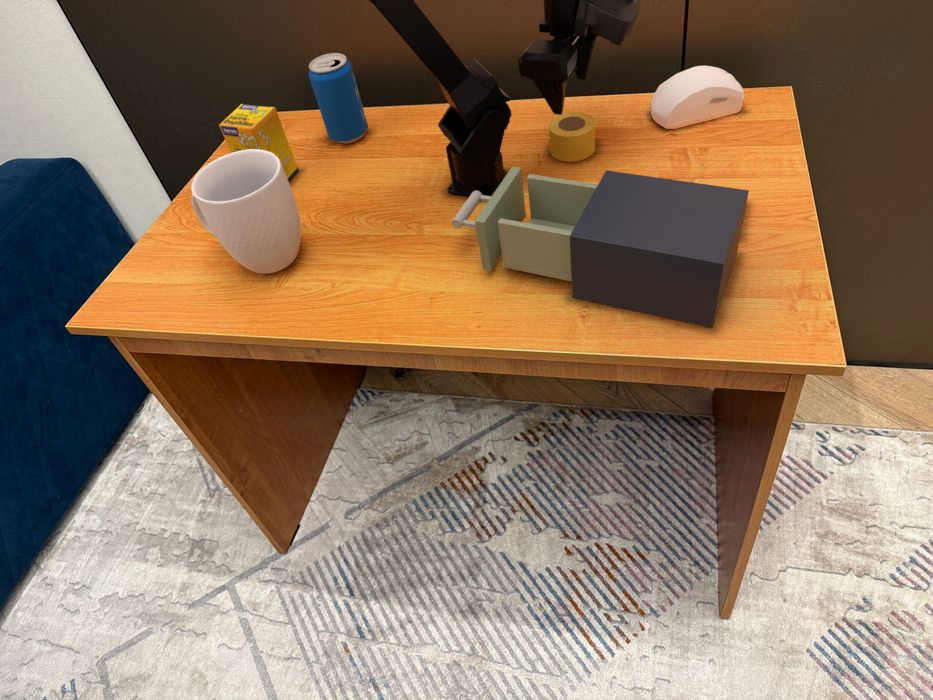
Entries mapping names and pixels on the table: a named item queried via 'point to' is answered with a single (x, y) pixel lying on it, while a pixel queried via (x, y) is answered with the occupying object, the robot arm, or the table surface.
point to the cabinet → (657, 246)
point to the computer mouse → (696, 97)
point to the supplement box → (259, 134)
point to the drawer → (536, 241)
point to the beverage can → (338, 97)
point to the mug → (249, 209)
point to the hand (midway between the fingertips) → (570, 96)
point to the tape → (572, 136)
